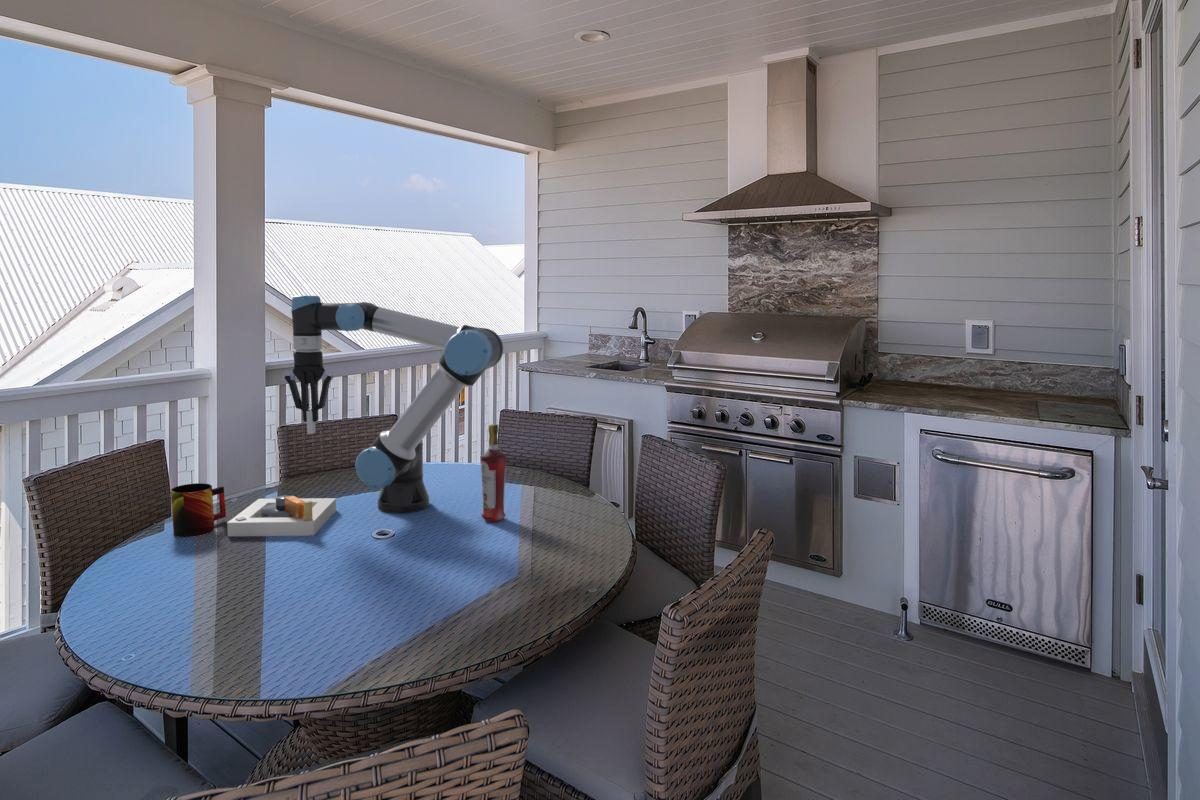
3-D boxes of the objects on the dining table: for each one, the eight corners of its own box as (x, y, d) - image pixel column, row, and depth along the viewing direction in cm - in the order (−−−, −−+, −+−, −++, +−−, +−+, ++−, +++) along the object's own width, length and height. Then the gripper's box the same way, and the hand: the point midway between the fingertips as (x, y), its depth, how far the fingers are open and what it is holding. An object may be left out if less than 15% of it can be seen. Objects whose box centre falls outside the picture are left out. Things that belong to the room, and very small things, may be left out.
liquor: (475, 519, 207) (475, 424, 203) (495, 514, 213) (495, 421, 208) (491, 525, 202) (491, 428, 198) (511, 520, 208) (511, 425, 203)
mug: (226, 520, 202) (224, 479, 201) (205, 536, 189) (202, 492, 187) (190, 520, 201) (187, 479, 200) (166, 537, 188) (163, 493, 186)
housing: (336, 510, 213) (335, 481, 212) (313, 535, 191) (312, 503, 190) (259, 511, 211) (258, 482, 210) (228, 536, 189) (226, 504, 188)
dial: (254, 514, 201) (253, 493, 200) (296, 505, 209) (295, 485, 208) (280, 529, 189) (279, 507, 188) (323, 519, 198) (323, 498, 197)
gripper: (279, 351, 197) (283, 435, 201) (328, 352, 198) (331, 435, 202) (288, 349, 205) (292, 430, 208) (335, 349, 206) (338, 430, 209)
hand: (311, 432), depth 205 cm, fingers closed
